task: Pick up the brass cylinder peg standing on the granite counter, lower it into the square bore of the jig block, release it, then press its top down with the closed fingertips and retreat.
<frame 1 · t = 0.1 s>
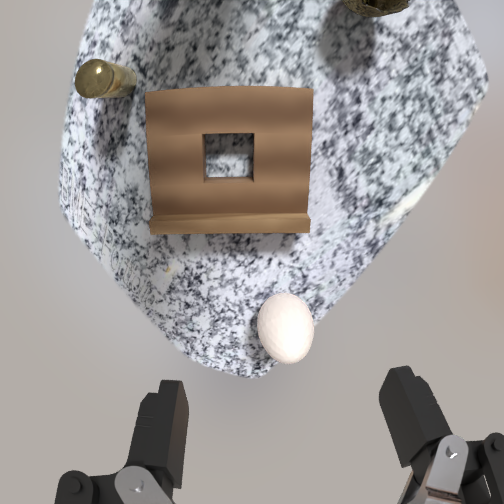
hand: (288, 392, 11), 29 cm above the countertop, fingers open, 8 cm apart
egg: (280, 300, 45), on the countertop
brass cylinder peg: (121, 81, 30), on the countertop
jig: (229, 154, 35), on the countertop
cup: (354, 2, 26), on the countertop
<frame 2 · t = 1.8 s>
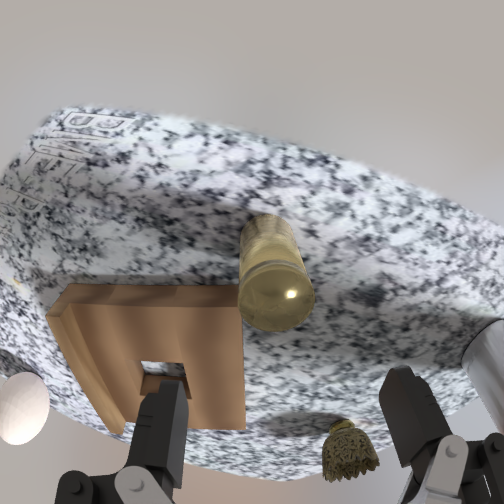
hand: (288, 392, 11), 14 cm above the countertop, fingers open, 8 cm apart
egg: (37, 376, 32), on the countertop
brass cylinder peg: (266, 239, 23), on the countertop
jig: (164, 358, 29), on the countertop
cup: (340, 423, 36), on the countertop
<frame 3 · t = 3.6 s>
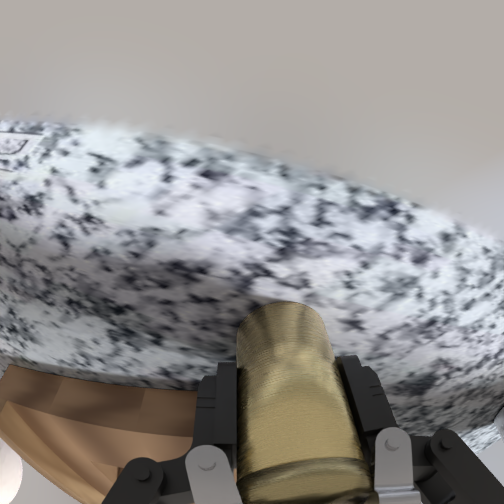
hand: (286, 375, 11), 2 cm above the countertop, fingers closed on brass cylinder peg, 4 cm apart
egg: (7, 434, 22), on the countertop
brass cylinder peg: (281, 337, 13), on the countertop, touching gripper
jig: (142, 450, 19), on the countertop
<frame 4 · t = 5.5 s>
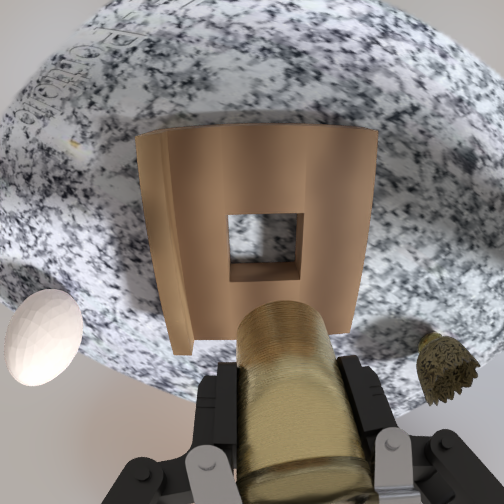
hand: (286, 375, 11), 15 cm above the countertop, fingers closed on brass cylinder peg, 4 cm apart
egg: (68, 299, 29), on the countertop
brass cylinder peg: (281, 335, 13), point 13 cm above the countertop, touching gripper
jig: (262, 233, 25), on the countertop
cup: (427, 339, 33), on the countertop
when the fingers open (4 cm above the countertop, at t = 7.6 s): brass cylinder peg drops 1 cm, resting in jig.
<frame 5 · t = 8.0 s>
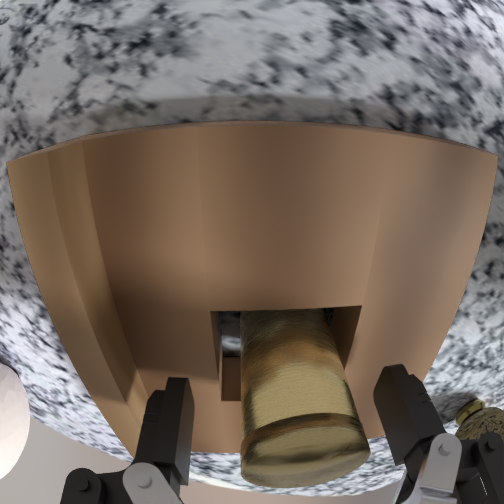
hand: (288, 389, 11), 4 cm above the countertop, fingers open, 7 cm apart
egg: (11, 369, 17), on the countertop
brass cylinder peg: (281, 315, 15), resting in jig
jig: (277, 316, 15), on the countertop
cup: (466, 406, 22), on the countertop
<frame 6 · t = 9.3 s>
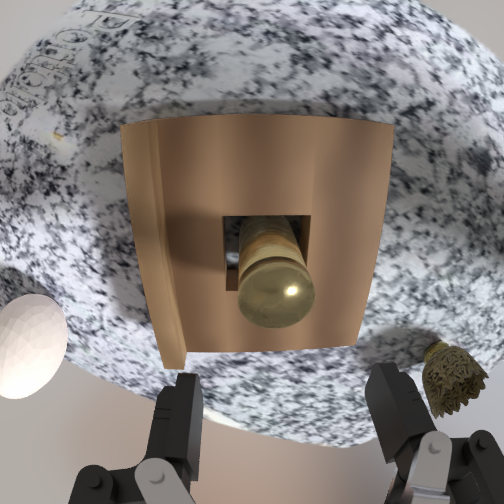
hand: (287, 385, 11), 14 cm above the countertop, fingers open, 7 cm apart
egg: (52, 304, 26), on the countertop
brass cylinder peg: (265, 235, 23), resting in jig
jig: (263, 236, 23), on the countertop
cup: (433, 348, 31), on the countertop
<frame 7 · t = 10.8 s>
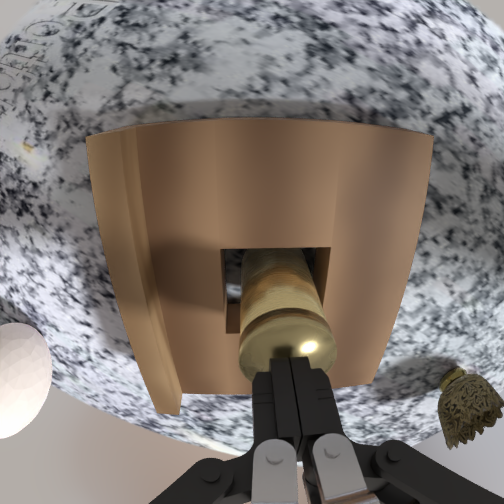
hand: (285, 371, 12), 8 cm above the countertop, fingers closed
egg: (36, 332, 22), on the countertop
brass cylinder peg: (273, 265, 19), resting in jig
jig: (270, 266, 19), on the countertop
cup: (449, 374, 27), on the countertop
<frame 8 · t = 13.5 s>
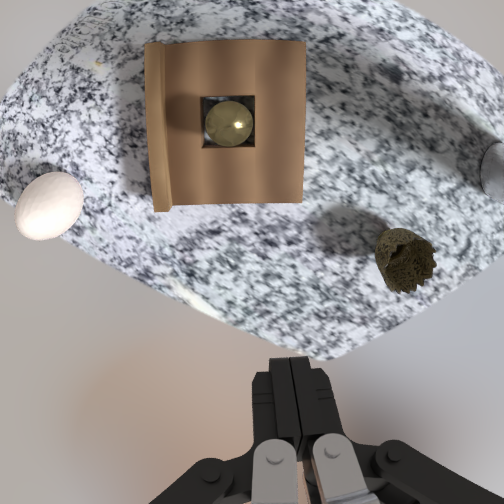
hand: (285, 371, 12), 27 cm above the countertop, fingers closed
egg: (73, 190, 35), on the countertop
brass cylinder peg: (230, 119, 32), resting in jig
jig: (228, 120, 32), on the countertop
cup: (385, 238, 39), on the countertop
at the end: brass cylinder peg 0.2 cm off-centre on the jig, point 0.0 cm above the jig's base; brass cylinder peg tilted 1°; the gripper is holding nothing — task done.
